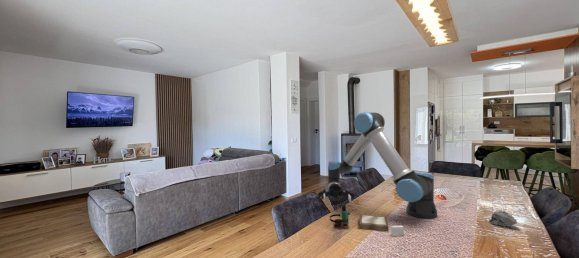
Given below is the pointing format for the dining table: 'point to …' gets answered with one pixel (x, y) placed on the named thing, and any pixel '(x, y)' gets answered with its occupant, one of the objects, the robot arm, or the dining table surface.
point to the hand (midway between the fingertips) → (337, 199)
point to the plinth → (373, 223)
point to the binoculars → (344, 217)
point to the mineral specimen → (502, 219)
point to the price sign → (397, 230)
